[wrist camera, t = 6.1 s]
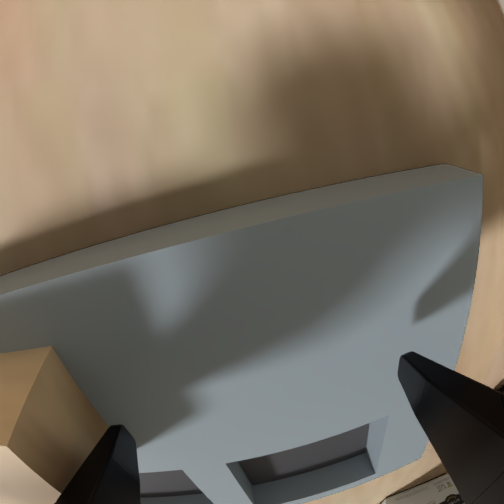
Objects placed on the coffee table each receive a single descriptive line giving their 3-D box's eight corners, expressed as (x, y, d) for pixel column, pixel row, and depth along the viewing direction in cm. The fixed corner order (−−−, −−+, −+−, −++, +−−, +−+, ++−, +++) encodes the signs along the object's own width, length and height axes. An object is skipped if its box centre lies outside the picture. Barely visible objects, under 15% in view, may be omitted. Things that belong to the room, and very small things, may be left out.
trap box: (408, 437, 17) (420, 457, 15) (87, 498, 16) (85, 519, 14) (445, 163, 10) (482, 174, 8) (-78, 305, 9) (-98, 326, 7)
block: (130, 452, 10) (124, 534, 7) (29, 450, 10) (12, 513, 6) (52, 345, 8) (6, 446, 4) (-46, 358, 8) (-87, 425, 4)
